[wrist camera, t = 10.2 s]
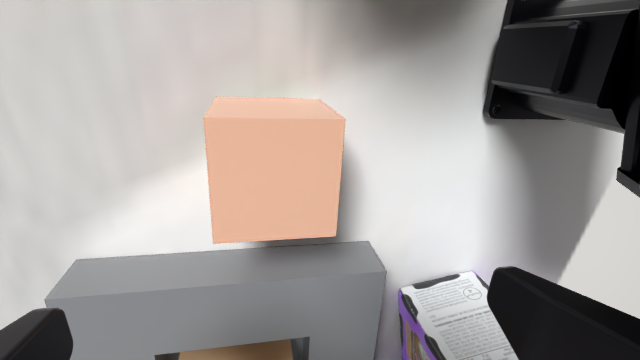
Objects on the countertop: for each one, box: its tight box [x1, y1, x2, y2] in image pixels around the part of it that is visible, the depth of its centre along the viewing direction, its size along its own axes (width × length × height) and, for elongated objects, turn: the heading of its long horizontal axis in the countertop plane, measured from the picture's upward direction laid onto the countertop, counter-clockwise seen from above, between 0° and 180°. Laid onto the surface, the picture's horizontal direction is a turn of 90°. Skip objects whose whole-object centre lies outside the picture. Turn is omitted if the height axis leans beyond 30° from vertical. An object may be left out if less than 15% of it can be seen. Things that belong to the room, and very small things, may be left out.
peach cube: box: [204, 97, 345, 244], centre depth 15 cm, size 5×5×5 cm
